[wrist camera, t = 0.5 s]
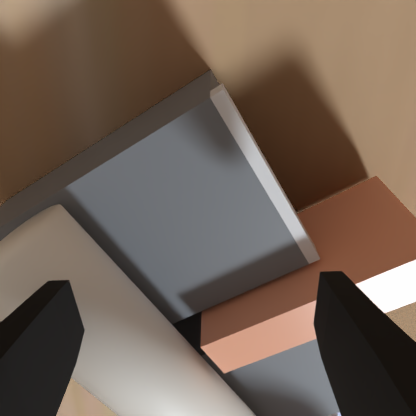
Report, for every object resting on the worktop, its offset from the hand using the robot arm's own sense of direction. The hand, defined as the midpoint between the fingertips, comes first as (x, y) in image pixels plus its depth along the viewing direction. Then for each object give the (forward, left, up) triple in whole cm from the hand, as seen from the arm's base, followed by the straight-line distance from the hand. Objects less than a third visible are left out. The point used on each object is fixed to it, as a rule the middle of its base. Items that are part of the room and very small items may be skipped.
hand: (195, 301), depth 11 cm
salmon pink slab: (-5, -2, -9) cm, 10 cm away
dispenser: (-5, +3, -10) cm, 12 cm away
